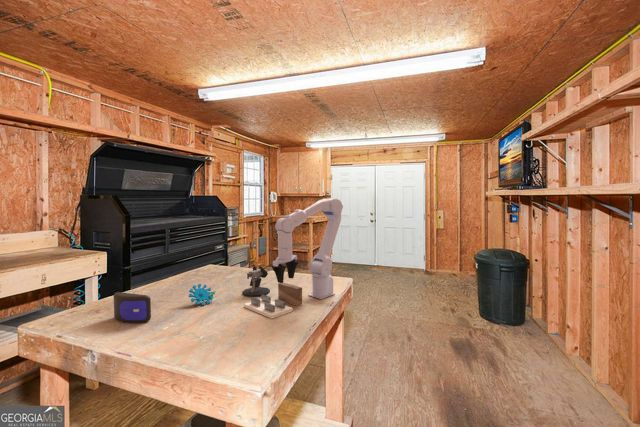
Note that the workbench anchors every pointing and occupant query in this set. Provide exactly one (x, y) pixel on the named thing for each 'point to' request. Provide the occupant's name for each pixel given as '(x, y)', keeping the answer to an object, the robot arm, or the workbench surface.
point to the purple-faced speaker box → (132, 307)
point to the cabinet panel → (265, 312)
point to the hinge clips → (268, 303)
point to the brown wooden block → (290, 293)
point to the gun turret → (256, 283)
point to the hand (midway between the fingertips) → (285, 280)
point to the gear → (201, 294)
